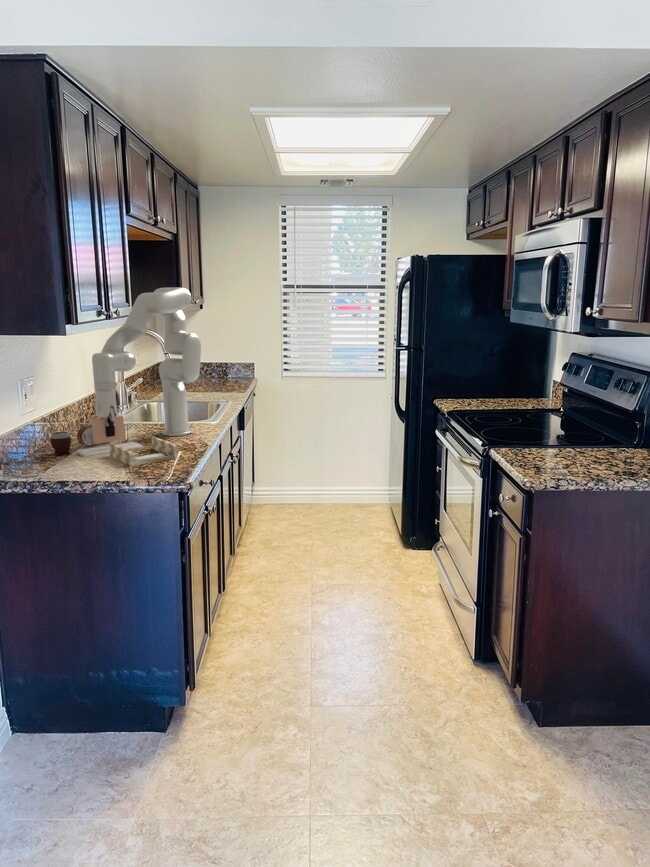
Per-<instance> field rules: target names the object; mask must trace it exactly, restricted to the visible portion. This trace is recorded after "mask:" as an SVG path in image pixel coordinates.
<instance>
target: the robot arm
mask: <svg viewBox="0 0 650 867" xmlns="http://www.w3.org/2000/svg"><path fill="white" fill-rule="evenodd" d="M191 303H192V294H191V292H190V290H188V289H187V288H185V287H179V286H178V287H160V288H156V289H155V290H154V291H153V292H143V293H140V294H139V295H138V296H137V298H136V299H135V301H134V303H133V305H132V308H131V309H130V312H129V314H128V316H127V318H126V320H125V321H124V323H123V324H122V325H121V326H120V327H119V328H118V329H116V330H115V332H113V334H111V335H110V336H109V338H108V339H107V340H106V342H105V344H104V346H103V348H102V350H101V351H100V352H95V353H93V354H92V356H91V361H92V362H91V363H92V373H93V386H94V388H93V389H94V392H95V396H94V397H95V398H94V399H95V401H94V402H95V415H96V416H97V417H98V418H104V419H106V426H105V428H106V437H111V436H115V427H114V425H115V423H114V422H115V420H116V419H115V417H117V416H118V407H117V406H118V405H117V397H116V392H115V391H117V384H116V383H117V381H116V380H117V379H116V372H129V371H131V370H133V369H134V368H135V366H136V363H137V360H136V357H135V356H134V354H133V353H131V352H130V351H125V350H123V349H125V347H126V346H127V345H129V344H130V343H132V342H134V341H137V340H139V339H140V338H142V337H144V336H145V335H146V334H147V332H148V329H149V327H150V325H151V323H152V321H153V319H154V317H155V316H163V318H164V338H163V347H164V351H165V353H167V354H168V355H172V356H181V357H182V358H178V357H177V358H175V357H171V358H170V357H169V358H165V359H164V360H162V361H161V362H160V364H159V366H158V374H159V378H160V382H161V387H162V398H163V399H162V400H163V410H164V411H163V414H164V429H163V430H161V435H162V436H166V435H167V436H169V437H180V436H181V437H182V436H188V435H190V433H191V434H192V433H193V429H192V428H190V427H189V414H188V398H187V397H188V396H187V390H186V386H185V383H194V382H195V381H197V379H198V378H199V376H200V370H201V360H202V358H201V356H202V344H201V339H200V337H199V336H198V335H197V334H196V333H194V332H191V331H187V319H186V315H185V313H184V312H183V311H184V310H185V309H187V308H189V306H190V305H191ZM108 417H109V418H108ZM108 419H110V420H109V421H108ZM187 434H188V435H187ZM167 436H166V437H167Z"/></svg>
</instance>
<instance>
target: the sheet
mask: <svg viewBox="0 0 650 867" xmlns="http://www.w3.org/2000/svg"><path fill="white" fill-rule="evenodd" d="M108 418H109V417H108ZM115 419H116V420H115V422H114V423H115V425H114V427H115V436H111V437H106V428H105V426H106V419H104V418H101V417H96V418H91V424H92V433H93V443H95V444H99V443H105V444H107V443H106V442H109V443H113V442H119V441H125V440H126V437H125V423H124V415H121V414H120V415H117V417H115ZM109 420H110V419H108V421H109Z"/></svg>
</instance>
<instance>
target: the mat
mask: <svg viewBox="0 0 650 867" xmlns="http://www.w3.org/2000/svg"><path fill="white" fill-rule="evenodd" d="M116 445H118V446H120V447H122V448H124V449H126V450H129V451H131V450H136V449H143V448H144V445H143V444H140V443H138V442H136V441H132V442H125V443H118V444H116ZM76 454H77V455H79V456H81V457H83V458H88V457H95V456H100V455H107V454H110V446H109V445H106V446H105V445H104V446H99V447H94V448H93V447H92V448H86V449H79V450H76Z"/></svg>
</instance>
